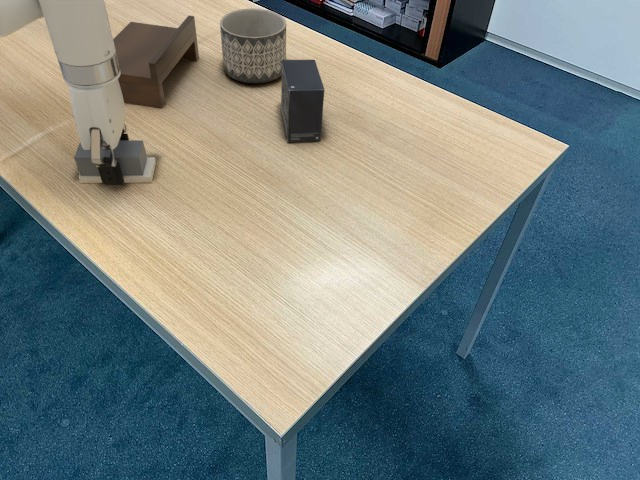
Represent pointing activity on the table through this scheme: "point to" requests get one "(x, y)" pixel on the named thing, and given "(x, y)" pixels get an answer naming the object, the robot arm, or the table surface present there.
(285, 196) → the table surface
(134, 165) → the grey block on plinth
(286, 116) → the small box
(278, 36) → the planter
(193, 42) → the shelf
